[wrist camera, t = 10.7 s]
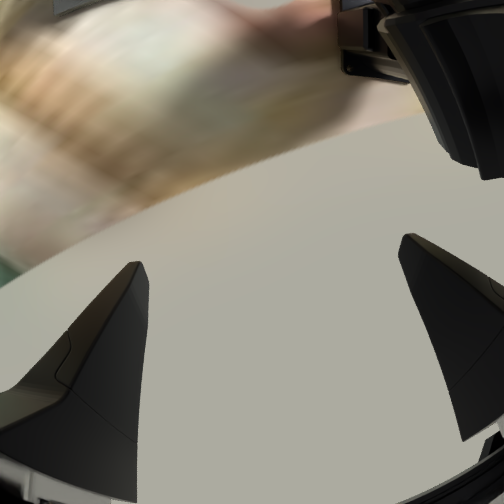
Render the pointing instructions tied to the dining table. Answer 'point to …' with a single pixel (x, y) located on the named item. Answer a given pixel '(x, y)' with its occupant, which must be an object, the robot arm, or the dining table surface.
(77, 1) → the gray square tray
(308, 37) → the dining table surface
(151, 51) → the dining table surface
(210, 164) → the dining table surface
